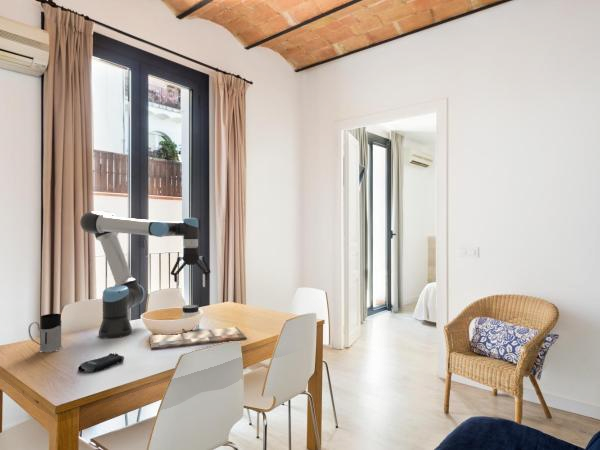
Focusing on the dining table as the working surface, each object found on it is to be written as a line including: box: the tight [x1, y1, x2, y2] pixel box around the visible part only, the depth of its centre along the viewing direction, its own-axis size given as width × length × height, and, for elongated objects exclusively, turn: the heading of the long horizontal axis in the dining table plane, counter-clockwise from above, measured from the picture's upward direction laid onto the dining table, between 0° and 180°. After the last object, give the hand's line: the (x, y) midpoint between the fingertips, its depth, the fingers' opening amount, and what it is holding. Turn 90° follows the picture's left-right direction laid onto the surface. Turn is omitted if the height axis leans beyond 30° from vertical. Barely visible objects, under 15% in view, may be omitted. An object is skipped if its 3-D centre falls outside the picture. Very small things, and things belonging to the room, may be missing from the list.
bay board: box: [149, 326, 248, 351], centre depth 191 cm, size 43×20×1 cm, turn 113°
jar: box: [181, 304, 200, 331], centre depth 208 cm, size 9×8×12 cm
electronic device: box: [77, 352, 125, 374], centre depth 153 cm, size 9×6×15 cm
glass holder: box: [28, 313, 63, 353], centre depth 171 cm, size 9×14×15 cm, turn 160°
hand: (190, 287), depth 208 cm, fingers open, 13 cm apart
